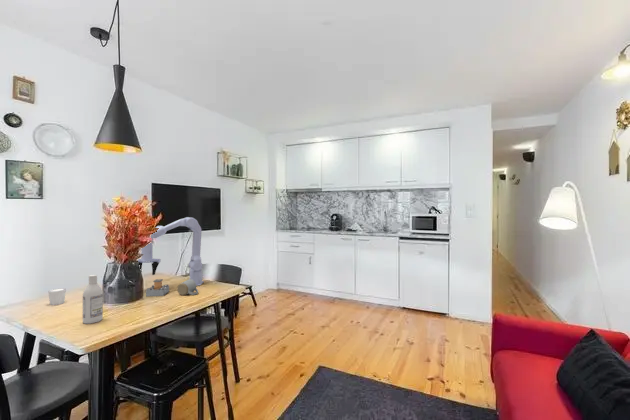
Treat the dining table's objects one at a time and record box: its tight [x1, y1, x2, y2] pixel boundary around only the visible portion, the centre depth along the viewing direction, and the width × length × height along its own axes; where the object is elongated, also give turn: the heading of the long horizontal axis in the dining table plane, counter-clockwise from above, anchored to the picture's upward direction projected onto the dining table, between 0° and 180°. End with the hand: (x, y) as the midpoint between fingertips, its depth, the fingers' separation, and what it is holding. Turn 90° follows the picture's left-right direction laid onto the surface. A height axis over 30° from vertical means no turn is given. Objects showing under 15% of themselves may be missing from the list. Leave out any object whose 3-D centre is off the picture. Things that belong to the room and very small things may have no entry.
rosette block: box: [145, 284, 170, 297], centre depth 168 cm, size 9×9×4 cm
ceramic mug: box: [177, 278, 199, 296], centre depth 168 cm, size 11×8×8 cm
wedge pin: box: [152, 278, 164, 289], centre depth 168 cm, size 4×4×8 cm
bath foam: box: [82, 274, 104, 325], centre depth 127 cm, size 7×7×20 cm
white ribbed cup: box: [48, 287, 67, 306], centre depth 150 cm, size 7×7×7 cm
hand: (146, 274), depth 173 cm, fingers open, 7 cm apart
